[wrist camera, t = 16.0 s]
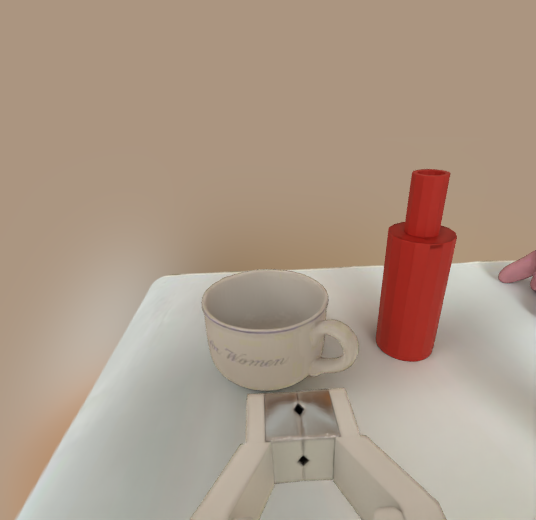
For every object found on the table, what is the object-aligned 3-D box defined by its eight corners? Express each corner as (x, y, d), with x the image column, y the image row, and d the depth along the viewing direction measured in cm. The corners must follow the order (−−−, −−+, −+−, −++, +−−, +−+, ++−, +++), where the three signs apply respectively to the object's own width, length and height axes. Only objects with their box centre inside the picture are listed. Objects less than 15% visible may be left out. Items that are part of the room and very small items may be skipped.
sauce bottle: (417, 325, 36) (446, 164, 29) (442, 359, 31) (485, 177, 24) (369, 328, 36) (385, 168, 29) (386, 363, 31) (412, 181, 24)
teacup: (191, 361, 33) (178, 291, 29) (275, 316, 39) (272, 254, 35) (288, 467, 23) (286, 380, 19) (380, 385, 29) (390, 307, 26)
